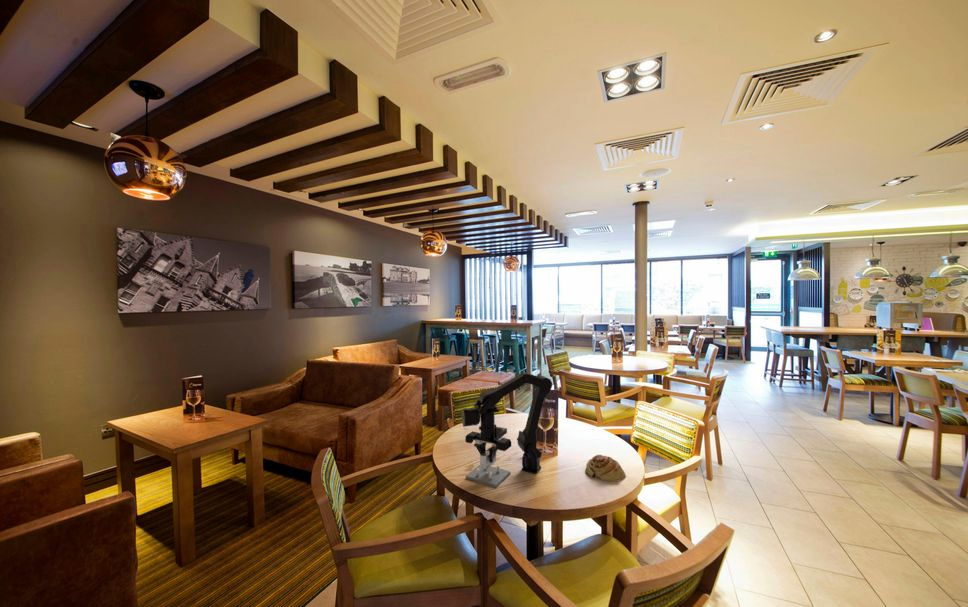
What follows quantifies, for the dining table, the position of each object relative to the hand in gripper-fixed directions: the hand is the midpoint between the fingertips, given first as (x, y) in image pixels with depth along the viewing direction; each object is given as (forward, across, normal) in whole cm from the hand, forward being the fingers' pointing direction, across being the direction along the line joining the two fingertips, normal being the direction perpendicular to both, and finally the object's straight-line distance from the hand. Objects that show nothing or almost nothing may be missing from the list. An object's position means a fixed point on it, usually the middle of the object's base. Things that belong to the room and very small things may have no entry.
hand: (488, 461), depth 138 cm
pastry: (+6, -40, -25) cm, 48 cm away
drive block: (+1, 0, 0) cm, 1 cm away
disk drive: (+7, +19, -38) cm, 43 cm away
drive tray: (+6, 0, 0) cm, 6 cm away
